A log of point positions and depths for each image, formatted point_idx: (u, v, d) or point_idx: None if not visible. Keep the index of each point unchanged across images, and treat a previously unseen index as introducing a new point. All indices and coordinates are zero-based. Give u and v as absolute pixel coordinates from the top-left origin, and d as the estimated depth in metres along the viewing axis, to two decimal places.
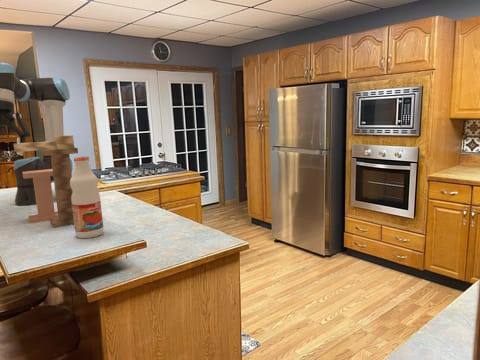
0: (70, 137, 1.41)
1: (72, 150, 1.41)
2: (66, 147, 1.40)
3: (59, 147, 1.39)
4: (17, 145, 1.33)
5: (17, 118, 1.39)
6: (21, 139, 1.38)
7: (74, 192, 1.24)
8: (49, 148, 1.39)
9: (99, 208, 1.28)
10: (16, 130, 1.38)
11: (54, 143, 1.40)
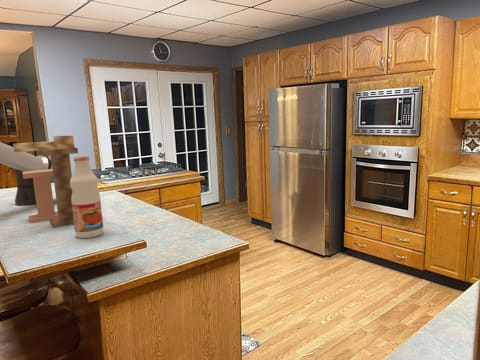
0: (70, 137, 1.41)
1: (72, 150, 1.41)
2: (66, 147, 1.40)
3: (59, 147, 1.39)
4: (17, 145, 1.33)
5: None
6: None
7: (74, 192, 1.24)
8: (49, 148, 1.39)
9: (99, 208, 1.28)
10: None
11: (54, 143, 1.40)
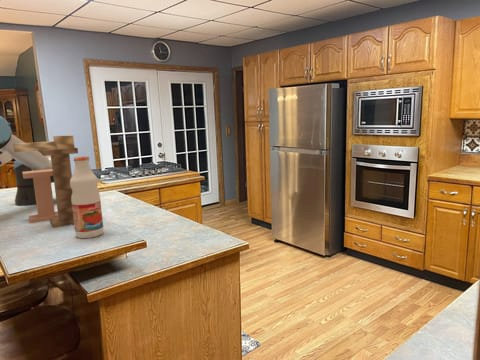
0: (70, 137, 1.41)
1: (72, 150, 1.41)
2: (66, 147, 1.40)
3: (59, 147, 1.39)
4: (17, 145, 1.33)
5: None
6: None
7: (74, 192, 1.24)
8: (49, 148, 1.39)
9: (99, 208, 1.28)
10: None
11: (54, 143, 1.40)
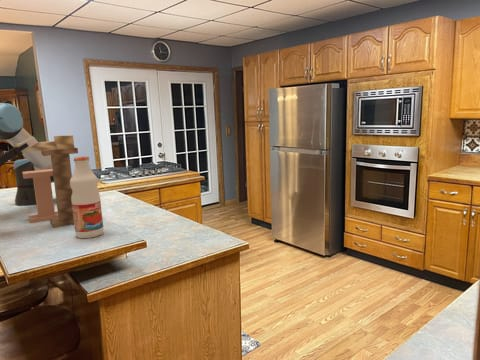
0: (70, 137, 1.41)
1: (72, 150, 1.41)
2: (66, 147, 1.40)
3: (59, 147, 1.39)
4: (17, 145, 1.33)
5: (0, 165, 1.28)
6: (22, 149, 1.33)
7: (74, 192, 1.24)
8: (49, 148, 1.39)
9: (99, 208, 1.28)
10: None
11: (54, 143, 1.40)
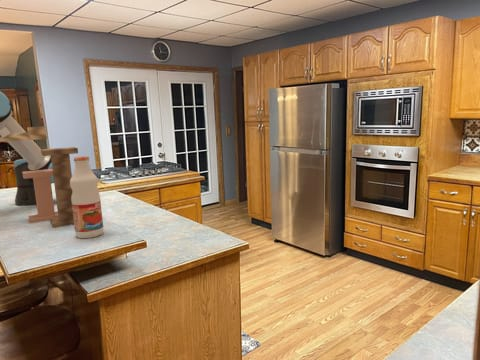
0: (42, 128, 1.46)
1: (72, 150, 1.41)
2: (38, 138, 1.46)
3: (31, 138, 1.44)
4: None
5: None
6: None
7: (74, 192, 1.24)
8: (22, 139, 1.44)
9: (99, 208, 1.28)
10: None
11: (27, 134, 1.45)
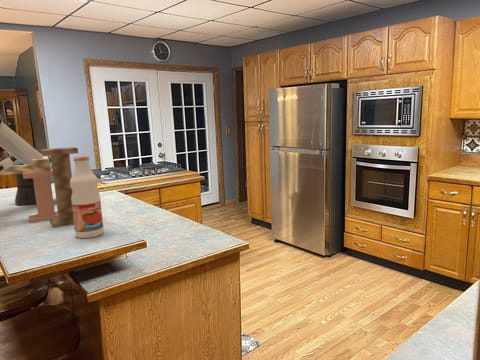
0: (46, 160, 1.49)
1: (72, 150, 1.41)
2: (43, 170, 1.49)
3: (36, 170, 1.48)
4: None
5: None
6: None
7: (74, 192, 1.24)
8: (26, 171, 1.48)
9: (99, 208, 1.28)
10: None
11: (31, 166, 1.48)
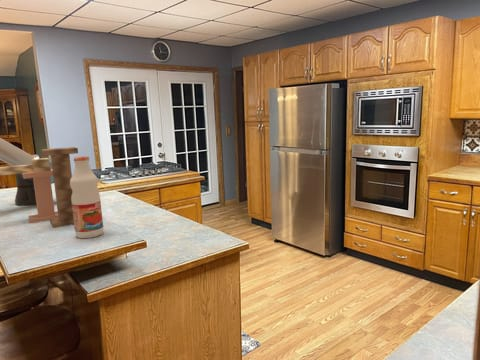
0: (46, 160, 1.49)
1: (72, 150, 1.41)
2: (43, 170, 1.49)
3: (36, 170, 1.48)
4: None
5: None
6: None
7: (74, 192, 1.24)
8: (26, 171, 1.48)
9: (99, 208, 1.28)
10: None
11: (31, 166, 1.48)
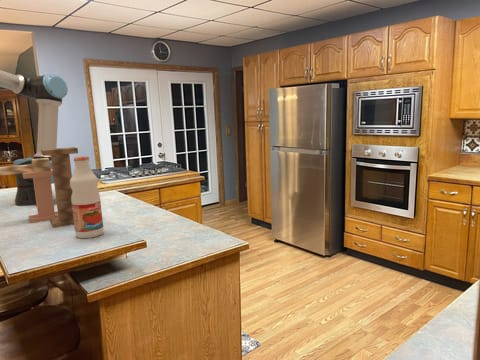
0: (46, 160, 1.49)
1: (72, 150, 1.41)
2: (43, 170, 1.49)
3: (36, 170, 1.48)
4: None
5: None
6: None
7: (74, 192, 1.24)
8: (26, 171, 1.48)
9: (99, 208, 1.28)
10: None
11: (31, 166, 1.48)
